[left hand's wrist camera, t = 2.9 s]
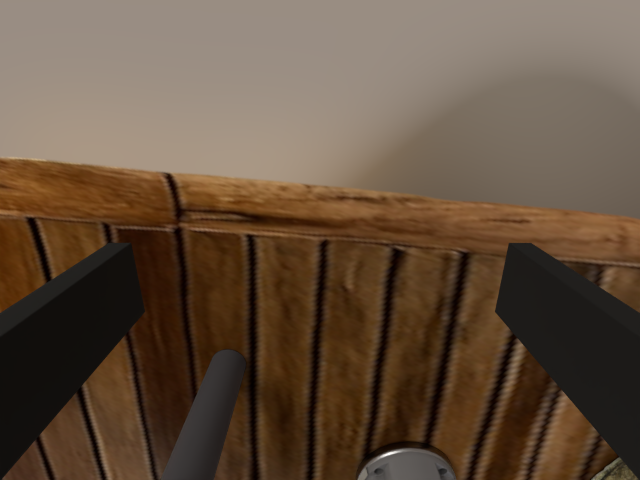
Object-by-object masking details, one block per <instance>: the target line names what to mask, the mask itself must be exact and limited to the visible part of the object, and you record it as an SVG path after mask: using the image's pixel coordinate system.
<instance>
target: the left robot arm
mask: <svg viewBox="0 0 640 480" xmlns="http://www.w3.org/2000/svg"><path fill="white" fill-rule="evenodd" d="M144 312H145V310H144V305H143V300H142V295H141V290H140V285H139V280H138V275H137V270H136V265H135V260H134V255H133V250H132V246H131V243H108V244H107V245H105V246H104V247H102V248H101V249H99V250H97V251H96V252H94V253H93V254H91V255H90V256H88V257H87V258H85V259H83V260H82V261H80V262H79V263H77V264H76V265H74V266H73V267H71V268H70V269H68V270H66V271H65V272H63V273H62V274H60V275H59V276H57V277H56V278H54V279H52V280H51V281H49V282H48V283H46V284H45V285H43V286H42V287H40V288H39V289H37V290H35V291H34V292H32V293H31V294H29V295H28V296H26V297H25V298H23V299H21V300H20V301H18V302H17V303H15V304H14V305H12V306H11V307H9V308H7V309H6V310H4V311H3V312H1V313H0V480H1V479H2V478H3V477H4V476H5V475H6V474H7V472H8V471H9V470H10V469H11V468H12V466H13V465H14V464H15V463H16V462H17V461H18V459H19V458H20V457H21V456H22V455H23V454H24V452H25V451H26V450H27V449H28V448H29V447H30V445H31V444H32V443H33V442H34V441H35V440H36V438H37V437H38V436H39V435H40V434H41V433H42V431H43V430H44V429H45V428H46V427H47V426H48V424H49V423H50V422H51V421H52V420H53V419H54V417H55V416H56V415H57V414H58V413H59V412H60V410H61V409H62V408H63V407H64V406H65V405H66V403H67V402H68V401H69V400H70V399H71V398H72V396H73V395H74V394H75V393H76V392H77V390H78V389H79V388H80V387H81V386H82V385H83V383H84V382H85V381H86V380H87V379H88V378H89V376H90V375H91V374H92V373H93V372H94V371H95V369H96V368H97V367H98V366H99V365H100V364H101V362H102V361H103V360H104V359H105V358H106V357H107V355H108V354H109V353H110V352H111V351H112V350H113V348H114V347H115V346H116V345H117V344H118V343H119V341H120V340H121V339H122V338H123V337H124V336H125V334H126V333H127V332H128V331H129V330H130V329H131V327H132V326H133V325H134V324H135V323H136V322H137V320H138V319H139V318H140V317H141V316H142V315H143V313H144ZM495 312H496V313H497V315H498V316H499V317H500V318H501V319H502V320H503V322H504V323H505V324H506V325H507V326H508V327H509V329H510V330H511V331H512V332H513V333H514V334H515V336H516V337H517V338H518V339H519V340H520V341H521V343H522V344H523V345H524V346H525V347H526V348H527V350H528V351H529V352H530V353H531V354H532V355H533V357H534V358H535V359H536V360H537V361H538V362H539V364H540V365H541V366H542V367H543V368H544V369H545V371H546V372H547V373H548V374H549V375H550V376H551V378H552V379H553V380H554V381H555V382H556V383H557V385H558V386H559V387H560V388H561V389H562V390H563V392H564V393H565V394H566V395H567V396H568V398H569V399H570V400H571V401H572V402H573V403H574V405H575V406H576V407H577V408H578V409H579V410H580V412H581V413H582V414H583V415H584V416H585V417H586V419H587V420H588V421H589V422H590V423H591V424H592V426H593V427H594V428H595V429H596V430H597V431H598V433H599V434H600V435H601V436H602V437H603V438H604V440H605V441H606V442H607V443H608V444H609V445H610V447H611V448H612V449H613V450H614V451H615V452H616V454H617V455H618V456H619V457H620V458H621V459H622V461H623V462H624V463H625V464H626V465H627V466H628V468H629V469H630V470H631V471H632V472H633V474H634V475H635V476H636V477H637V478H638V479H639V480H640V313H639V312H637V311H636V310H634V309H633V308H631V307H629V306H628V305H626V304H625V303H623V302H622V301H620V300H619V299H617V298H615V297H614V296H612V295H611V294H609V293H608V292H606V291H605V290H603V289H601V288H600V287H598V286H597V285H595V284H594V283H592V282H591V281H589V280H588V279H586V278H584V277H583V276H581V275H580V274H578V273H577V272H575V271H574V270H572V269H570V268H569V267H567V266H566V265H564V264H563V263H561V262H560V261H558V260H557V259H555V258H553V257H552V256H550V255H549V254H547V253H546V252H544V251H543V250H541V249H539V248H538V247H536V246H535V245H533V244H532V243H509V246H508V250H507V255H506V260H505V265H504V270H503V275H502V280H501V285H500V290H499V295H498V300H497V305H496V310H495ZM356 480H456V477H455V474H454V471H453V468H452V465H451V463H450V461H449V459H448V458H447V457H446V456H445V455H444V454H443V453H442V452H441V451H439V450H438V449H436V448H434V447H432V446H429V445H426V444H423V443H417V442H400V443H394V444H390V445H387V446H384V447H381V448H379V449H377V450H375V451H374V452H372V453H371V454H369V455H368V456H367V457H366V458H365V459H364V460H363V461H362V463H361V464H360V466H359V468H358V470H357V474H356Z"/></svg>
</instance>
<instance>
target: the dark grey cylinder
mask: <svg viewBox="0 0 640 480" xmlns="http://www.w3.org/2000/svg"><path fill="white" fill-rule="evenodd" d="M245 368H246V361H245V359H244V357H243V356H242V355H241V354H240V353H238V352H236V351H234V350H221V351H219V352H217V353H216V354H215V355H214V356H213V358H212V360H211V363H210V365H209V367H208V370H207V372H206V374H205V377H204V379H203V381H202V384H201V386H200V388H199V391H198V393H197V395H196V398H195V400H194V402H193V405H192V407H191V409H190V412H189V414H188V416H187V419H186V421H185V423H184V426H183V428H182V430H181V433H180V435H179V437H178V440H177V442H176V445H175V447H174V449H173V452H172V454H171V456H170V459H169V461H168V463H167V466H166V468H165V470H164V473H163V475H162V477H161V480H214V477H215V473H216V470H217V466H218V463H219V459H220V456H221V452H222V449H223V445H224V442H225V438H226V435H227V431H228V428H229V424H230V421H231V417H232V414H233V410H234V407H235V403H236V400H237V396H238V393H239V389H240V386H241V382H242V379H243V375H244V372H245Z"/></svg>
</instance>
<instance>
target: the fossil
mask: <svg viewBox="0 0 640 480" xmlns="http://www.w3.org/2000/svg"><path fill="white" fill-rule="evenodd" d="M591 480H639V479H638V478H637V477H636V476H635V475H634V474H633V472H632V471H631V470H630V469H629V468H628V466H627V465H626V464H625V463H624V462H623V461H622V459H621V458H620V457H619V458H617V459H616V460H615V461H613V462H612V463H611V464H610V465H608V466H606V467H605V469H604V470H603V471H601V472H600V473H598V474H597V475H596V476H594V477H593V478H592V479H591Z"/></svg>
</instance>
